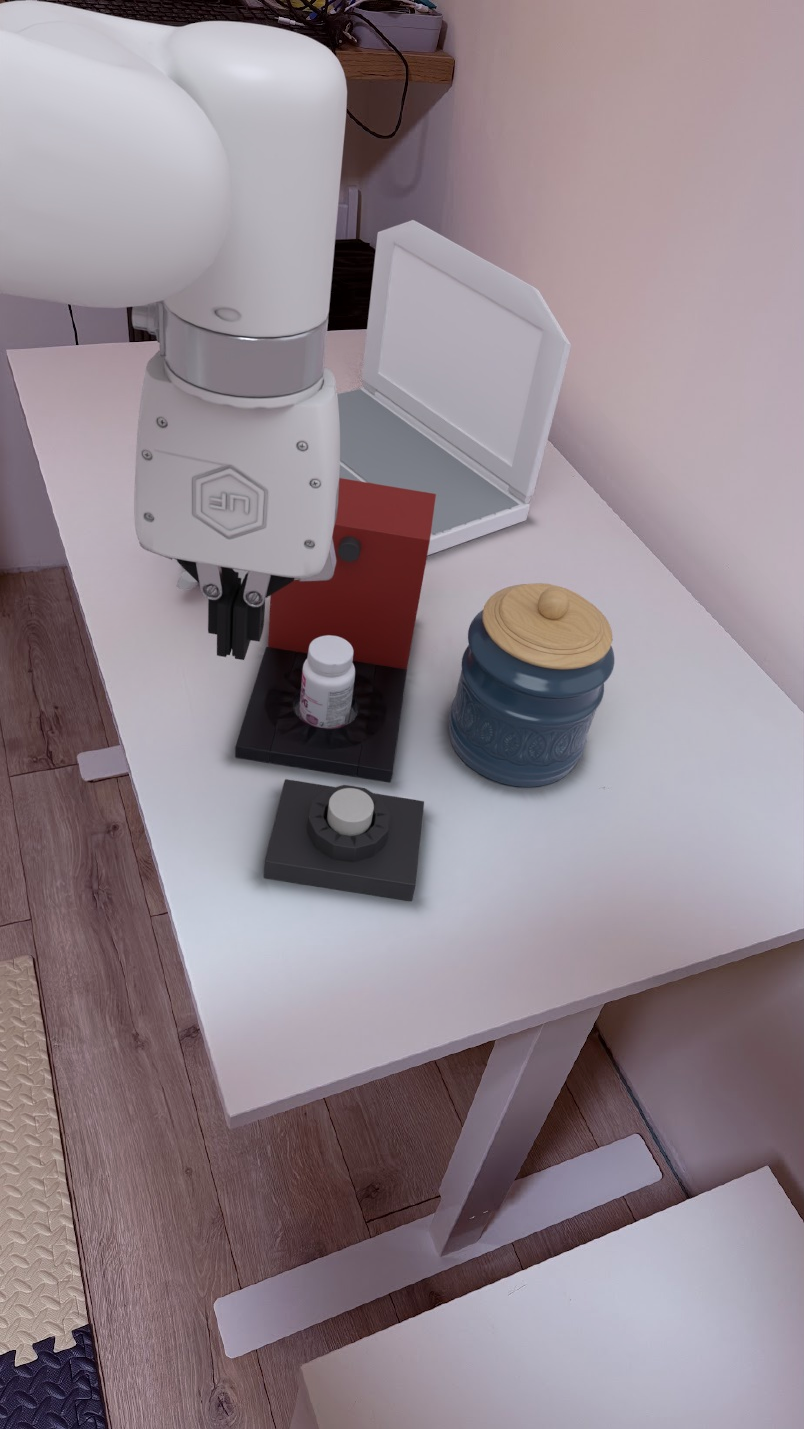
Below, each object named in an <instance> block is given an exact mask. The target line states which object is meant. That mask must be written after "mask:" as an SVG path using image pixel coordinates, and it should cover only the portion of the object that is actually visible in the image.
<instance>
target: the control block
mask: <svg viewBox="0 0 804 1429" xmlns="http://www.w3.org/2000/svg"><path fill="white" fill-rule="evenodd" d="M345 788H355V789H359V790H361V791H363V792H365V793H366V794H368V795H369V796H370V797H371V799H372V801H373V804H374V810H373V815H372V821H371V825H370V827H369V828H368V829H367V830H366V831H365V832H364V833H362V834H359V835H355V836H348V835H342V834H340V833H338V832H336V831H334V830H333V829H332V828H331V827H330V825H329V823H328V820H327V814H328V806H329V800H330V798H331V796H332V795H333V794H334V793H335V792H337V791H338V790H341V789H345ZM424 807H425V801H424V800H419V799H412V798H406V797H401V796H400V797H399V796H395V795H394V796H393V795H388V794H382V793H375V792H372V791H370V790H369V789H367V788H366V787H360V786H355V785H349V784H343V785H342V784H341V785H338V786H331V785H326V784H318V783H314V782H313V783H312V782H306V781H300V780H295V779H288V778H285V779H284V781H283V785H282V789H281V794H280V797H279V802H278V806H277V809H276V814H275V817H274V822H273V825H272V829H271V833H270V838H269V842H268V846H267V851H266V854H265V858H264V863H263V864H264V866H263V878H264V879H268V880H274V881H281V882H287V883H294V884H299V885H305V886H311V887H312V886H313V887H318V888H325V889H331V890H338V891H344V892H350V893H357V894H362V895H368V896H376V897H381V898H388V899H393V900H394V899H395V900H401V901H406V902H412V901H413V896H414V893H415V889H416V885H417V884H416V881H417V874H418V873H417V872H418V864H419V855H420V847H421V846H420V845H421V836H422V826H423V819H424V818H423V817H424Z"/></svg>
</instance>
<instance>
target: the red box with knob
mask: <svg viewBox="0 0 804 1429" xmlns="http://www.w3.org/2000/svg"><path fill="white" fill-rule="evenodd" d="M435 499H436V494H433V493H427V492H421V491H415V490H409V489H403V488H397V487H391V486H385V485H379V484H373V483H367V482H361V481H355V480H349V479H343V478H339V495H338V509H337V517H336V521H335V526H334V529H333V535H332V538H333V544H334V549H335V555H336V567H335V571H334V575H333V577H332V578H331V579H330V580H326V581H300V580H293V581H292V582H291V583H290V584H288V585H286V586H285V587H283V588H282V589H280V590H278V591H277V592H275V593H273V594H272V595H270V596H269V597H270V598H269V618H268V633H267V634H268V635H267V647H272V648H278V649H284V650H290V651H296V652H303V653H308V650H309V645H310V643H311V642H312V641H313V640H314V639H316V638H318V637H321V636H326V635H331V636H338V637H341V638H343V639H345V640H346V641H348V642H349V643H350V644H351V646H352V648H353V661H358V662H364V663H370V664H376V665H383V666H389V667H395V668H401V669H407V670H408V666H409V659H410V654H411V648H412V643H413V637H414V632H415V626H416V621H417V615H418V610H419V609H418V608H419V603H420V599H421V598H420V597H421V594H422V593H421V592H422V586H423V581H424V576H425V571H426V565H427V559H428V555H427V554H428V548H429V543H430V536H431V528H432V521H433V514H434V506H435Z"/></svg>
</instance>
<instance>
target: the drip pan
mask: <svg viewBox="0 0 804 1429" xmlns="http://www.w3.org/2000/svg"><path fill="white" fill-rule="evenodd" d="M307 657H308V653H303V652H296V651H290V650H284V649H278V648H272V647H268V646H265V649H264V651H263V655H262V659H261V662H260V664H259V669H258V672H257V674H256V677H255V682H254V685H253V688H252V691H251V695H250V698H249V701H248V703H247V707H246V711H245V714H244V717H243V720H242V724H241V727H240V731H239V734H238V736H237V740H236V743H235V747H234V748H235V749H234V750H235V753H234V754H235V756H234V757H235V758H236V759H242V760H247V761H254V762H261V763H266V764H273V765H279V766H286V767H292V768H299V769H304V770H312V771H317V772H324V773H330V774H335V775H336V774H337V775H343V776H348V777H355V778H358V779H359V778H361V779H367V780H372V781H379V782H384V783H392V779H393V778H392V777H393V772H394V766H395V758H396V751H397V743H398V737H399V729H400V724H401V723H400V722H401V717H402V716H401V715H402V708H403V702H404V701H403V700H404V696H405V694H404V693H405V687H406V680H407V674H408V668H407V669H401V668H395V667H389V666H383V665H376V664H370V663H364V662H358V661H352V663H353V665H354V667H355V679H354V687H353V695H352V703H351V708H353V710H354V712H355V715H356V716H355V717H354V718H353V720H352V721H351V722H348V723H347V725H345V726H342V727H340V728H332V729H325V728H319V727H314V726H312V725H310V724H308V723H306V722H303V721H302V720H301V719H300V717H299V716H298V715H297V712H296V710H295V707H296V706H298V704H300V696H301V683H302V670H303V665H304V662H305V660H306V659H307Z"/></svg>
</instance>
